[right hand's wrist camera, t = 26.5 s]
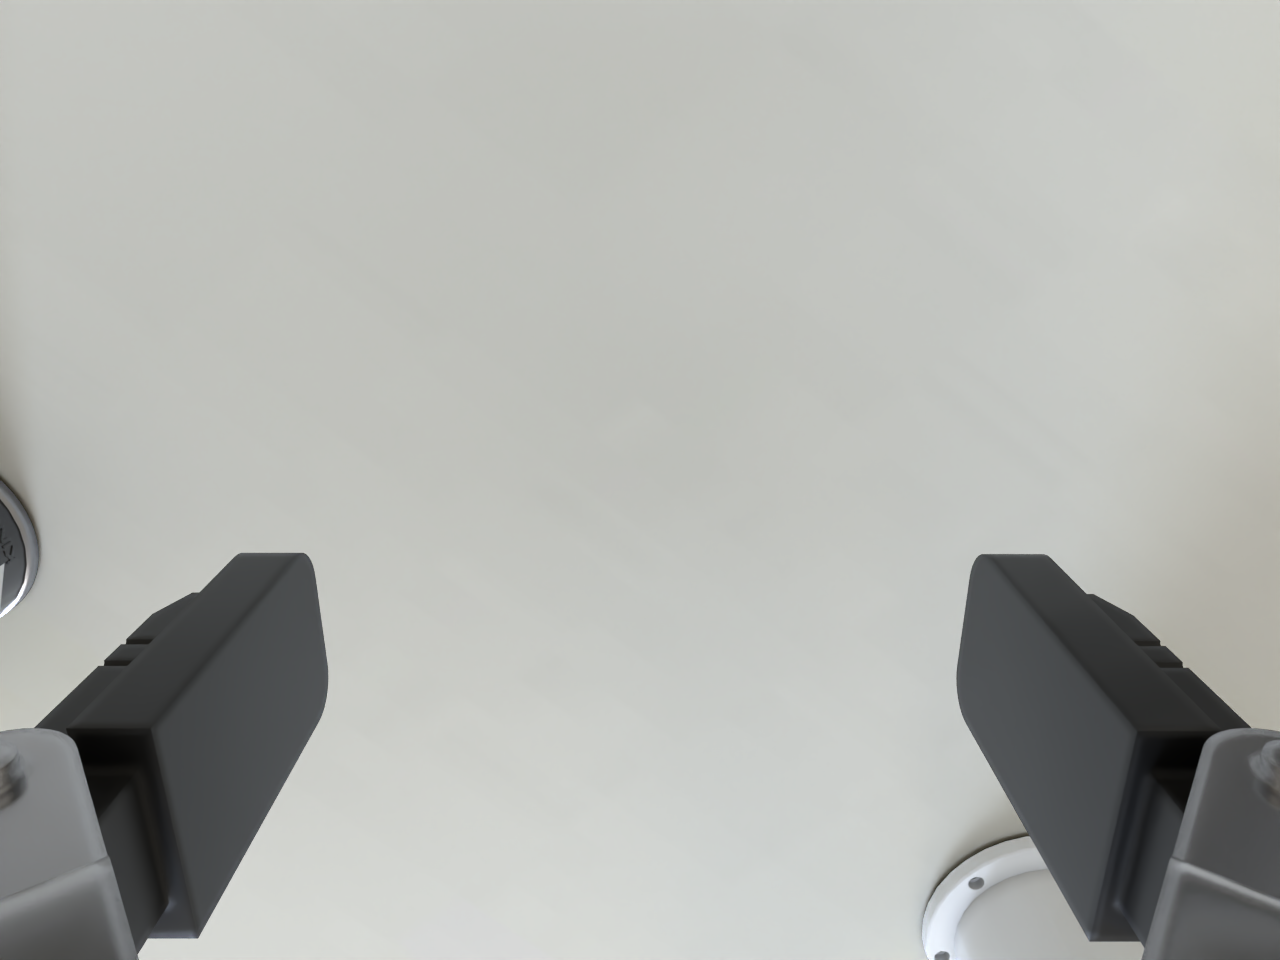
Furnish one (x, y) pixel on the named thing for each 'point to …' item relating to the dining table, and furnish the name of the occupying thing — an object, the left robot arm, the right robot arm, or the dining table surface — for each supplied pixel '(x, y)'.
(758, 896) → the dining table surface
